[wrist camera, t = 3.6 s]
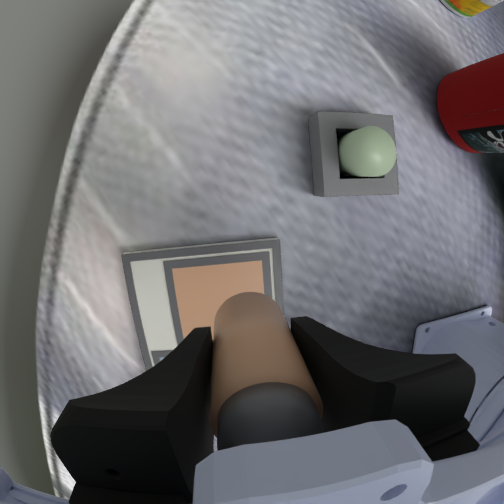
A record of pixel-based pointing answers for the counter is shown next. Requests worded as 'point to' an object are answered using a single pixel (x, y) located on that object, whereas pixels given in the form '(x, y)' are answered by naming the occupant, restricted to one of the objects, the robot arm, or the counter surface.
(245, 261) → the picture card
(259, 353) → the terracotta marker
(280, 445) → the robot arm
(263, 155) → the counter surface
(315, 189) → the button housing
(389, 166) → the button
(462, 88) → the beverage can
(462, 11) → the supplement bottle
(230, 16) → the counter surface
